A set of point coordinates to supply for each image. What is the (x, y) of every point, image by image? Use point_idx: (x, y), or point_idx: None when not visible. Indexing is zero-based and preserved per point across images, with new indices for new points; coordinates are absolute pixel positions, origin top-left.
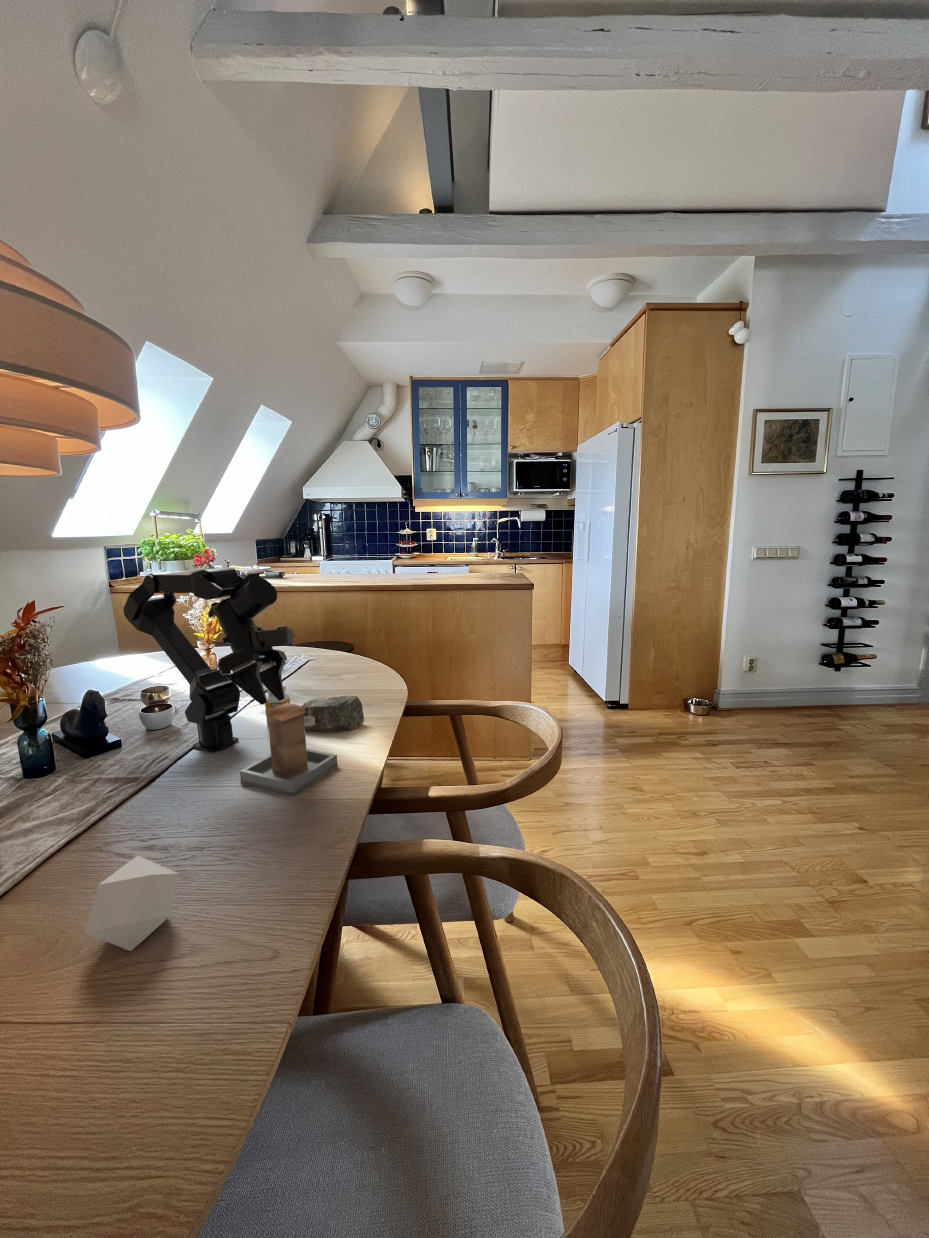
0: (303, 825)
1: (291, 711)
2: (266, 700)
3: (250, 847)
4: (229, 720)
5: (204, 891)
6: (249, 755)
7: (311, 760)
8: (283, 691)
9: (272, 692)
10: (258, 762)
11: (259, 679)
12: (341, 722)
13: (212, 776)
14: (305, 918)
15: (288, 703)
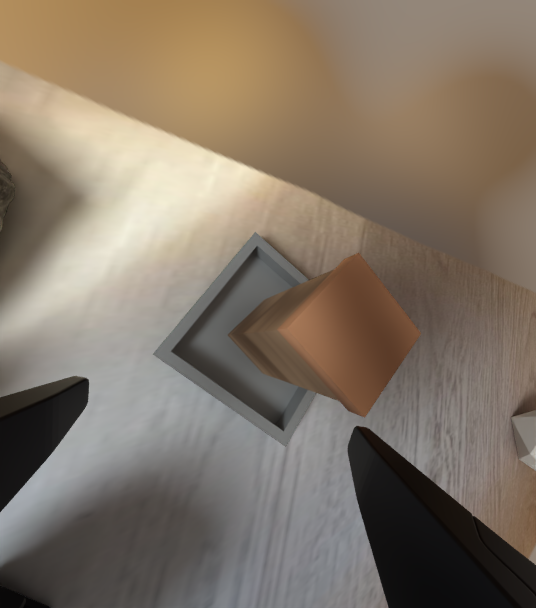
0: (409, 302)
1: (389, 303)
2: (366, 429)
3: (440, 363)
4: None
5: (489, 393)
6: (119, 468)
7: (223, 292)
8: (29, 390)
9: (27, 474)
10: (252, 412)
11: (500, 560)
12: (10, 182)
13: (230, 521)
14: (512, 295)
15: (300, 324)
